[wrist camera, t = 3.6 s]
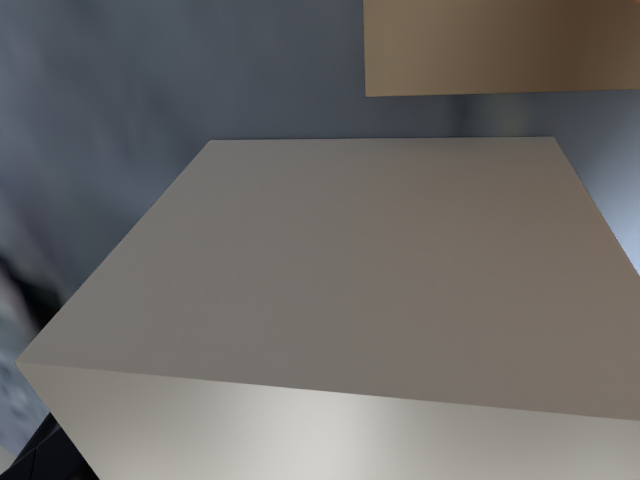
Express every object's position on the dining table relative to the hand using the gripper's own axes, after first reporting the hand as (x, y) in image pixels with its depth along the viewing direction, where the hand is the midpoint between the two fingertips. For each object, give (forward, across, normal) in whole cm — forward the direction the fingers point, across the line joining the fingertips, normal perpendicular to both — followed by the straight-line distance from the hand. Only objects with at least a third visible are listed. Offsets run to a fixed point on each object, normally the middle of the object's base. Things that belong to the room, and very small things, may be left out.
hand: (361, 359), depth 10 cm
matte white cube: (+3, 0, 0) cm, 3 cm away
